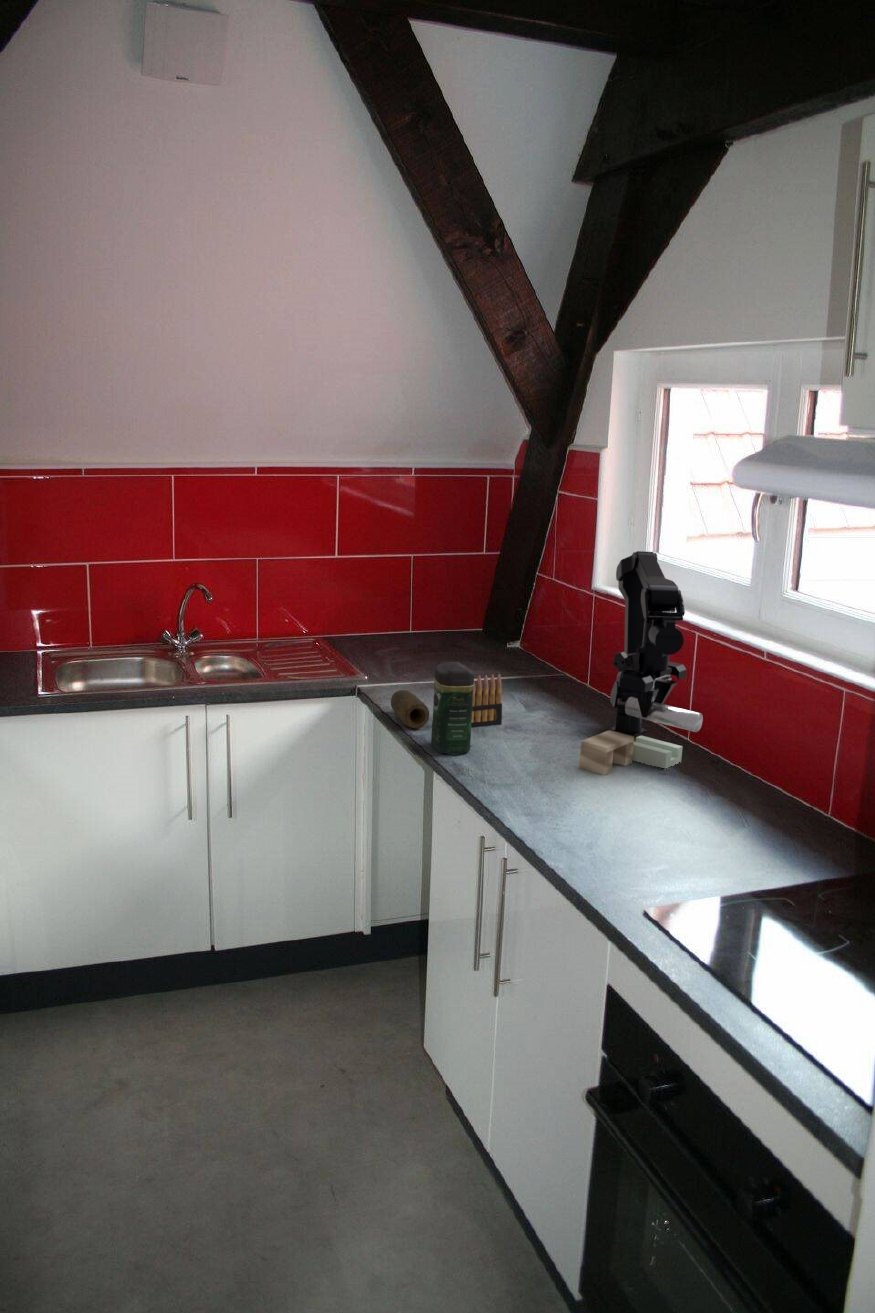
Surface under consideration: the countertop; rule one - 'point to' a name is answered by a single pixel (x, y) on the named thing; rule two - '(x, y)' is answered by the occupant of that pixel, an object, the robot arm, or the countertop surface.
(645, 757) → the v block
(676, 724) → the axle
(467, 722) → the coffee jar
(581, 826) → the countertop surface
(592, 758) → the wooden bridge block
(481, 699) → the ammunition clip
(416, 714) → the brown hollow cylinder
